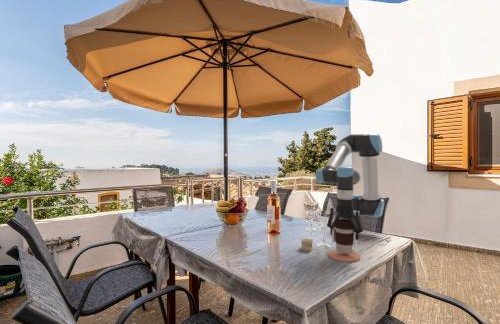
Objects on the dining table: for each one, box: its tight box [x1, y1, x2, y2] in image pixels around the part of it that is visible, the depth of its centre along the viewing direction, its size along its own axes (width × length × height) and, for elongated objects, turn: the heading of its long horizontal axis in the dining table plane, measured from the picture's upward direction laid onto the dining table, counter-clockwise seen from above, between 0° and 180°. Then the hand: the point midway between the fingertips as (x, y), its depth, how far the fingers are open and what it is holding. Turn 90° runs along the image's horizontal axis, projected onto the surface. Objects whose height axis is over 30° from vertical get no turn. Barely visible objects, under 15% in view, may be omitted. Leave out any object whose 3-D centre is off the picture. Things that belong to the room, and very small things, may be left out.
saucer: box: [327, 248, 362, 263], centre depth 135 cm, size 15×15×1 cm
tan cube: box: [300, 237, 313, 252], centre depth 145 cm, size 5×5×5 cm
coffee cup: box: [334, 219, 354, 254], centre depth 135 cm, size 10×10×15 cm
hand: (344, 243), depth 135 cm, fingers closed on coffee cup, 10 cm apart
